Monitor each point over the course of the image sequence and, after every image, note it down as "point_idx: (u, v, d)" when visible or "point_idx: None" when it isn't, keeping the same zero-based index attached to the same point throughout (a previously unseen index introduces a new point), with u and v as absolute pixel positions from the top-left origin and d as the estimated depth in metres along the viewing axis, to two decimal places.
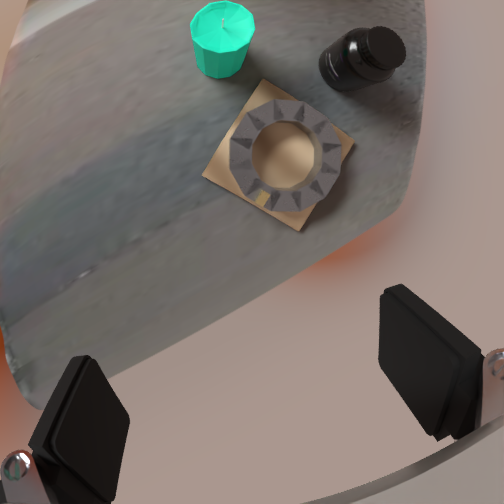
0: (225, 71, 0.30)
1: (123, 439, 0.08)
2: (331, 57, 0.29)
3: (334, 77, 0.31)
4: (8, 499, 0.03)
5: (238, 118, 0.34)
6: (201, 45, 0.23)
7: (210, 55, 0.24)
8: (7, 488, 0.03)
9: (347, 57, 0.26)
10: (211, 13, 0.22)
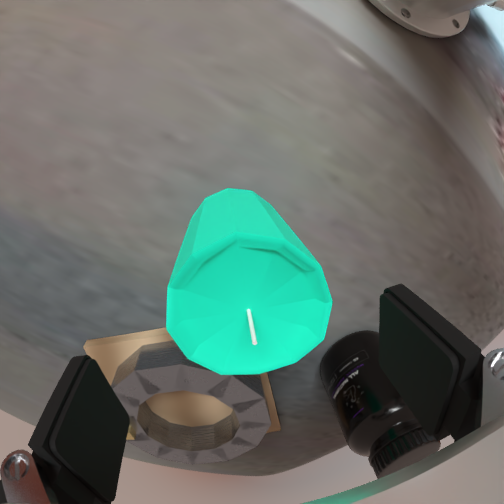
0: None
1: (123, 439, 0.08)
2: (353, 380, 0.20)
3: (330, 389, 0.22)
4: (8, 499, 0.03)
5: None
6: (169, 321, 0.10)
7: None
8: (7, 488, 0.03)
9: (362, 427, 0.17)
10: (263, 261, 0.10)
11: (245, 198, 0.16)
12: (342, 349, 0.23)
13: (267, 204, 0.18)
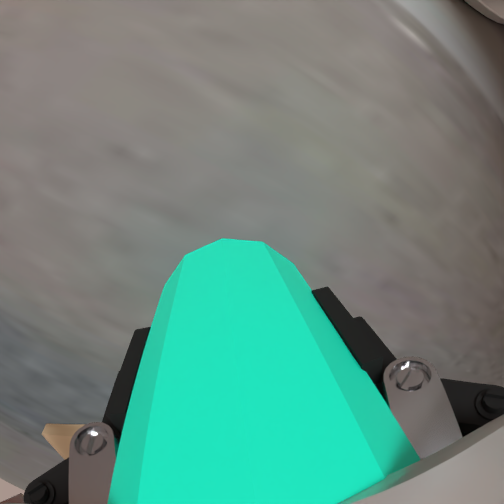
0: None
1: None
2: None
3: None
4: (70, 473, 0.04)
5: None
6: None
7: None
8: (73, 461, 0.04)
9: None
10: None
11: (256, 275, 0.08)
12: None
13: (292, 273, 0.10)
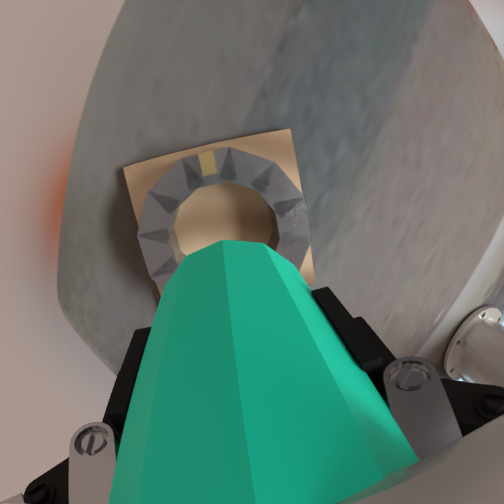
0: None
1: None
2: None
3: None
4: (71, 473, 0.04)
5: None
6: None
7: None
8: (73, 461, 0.04)
9: None
10: None
11: (257, 276, 0.08)
12: None
13: (293, 274, 0.10)
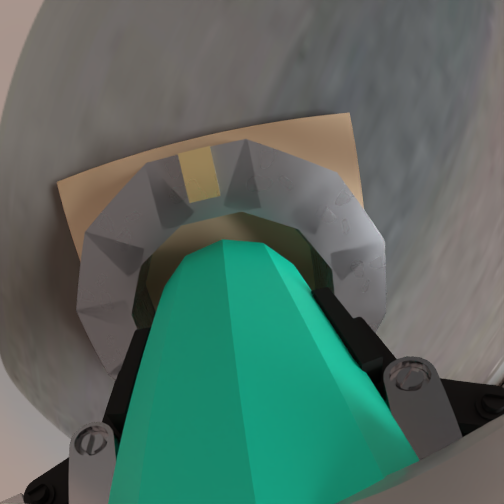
0: None
1: None
2: None
3: None
4: (70, 473, 0.04)
5: None
6: None
7: None
8: (73, 461, 0.04)
9: None
10: None
11: (257, 276, 0.08)
12: None
13: (293, 274, 0.10)
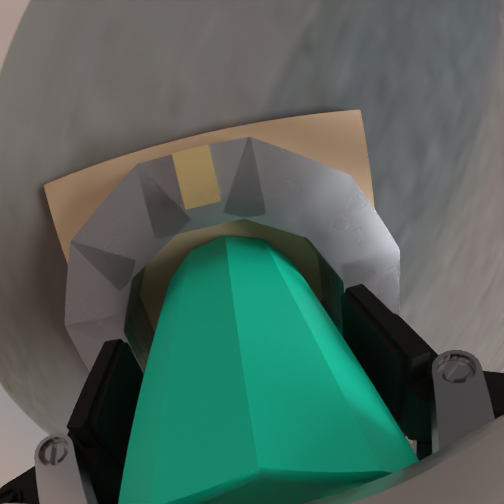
0: None
1: None
2: None
3: None
4: (39, 483, 0.04)
5: None
6: None
7: None
8: (39, 472, 0.04)
9: None
10: (316, 485, 0.04)
11: (257, 268, 0.09)
12: None
13: (289, 267, 0.11)
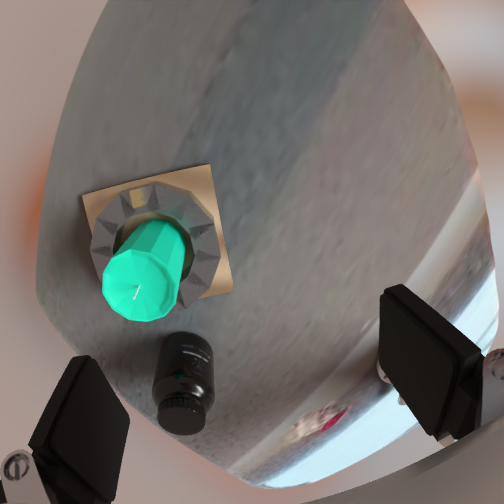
0: None
1: (123, 439, 0.08)
2: (203, 361, 0.32)
3: (184, 347, 0.33)
4: (8, 499, 0.03)
5: (222, 241, 0.32)
6: (103, 289, 0.21)
7: None
8: (7, 488, 0.03)
9: (193, 380, 0.28)
10: (143, 262, 0.21)
11: (156, 227, 0.27)
12: (206, 345, 0.35)
13: (173, 229, 0.29)
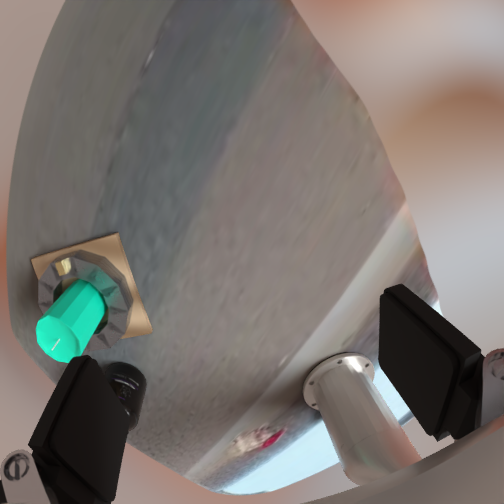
0: None
1: (123, 439, 0.08)
2: (130, 388, 0.37)
3: (116, 375, 0.37)
4: (8, 499, 0.03)
5: (134, 294, 0.37)
6: (37, 340, 0.26)
7: None
8: (7, 488, 0.03)
9: None
10: (58, 324, 0.26)
11: (77, 289, 0.32)
12: (137, 374, 0.40)
13: (93, 288, 0.34)
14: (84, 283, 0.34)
